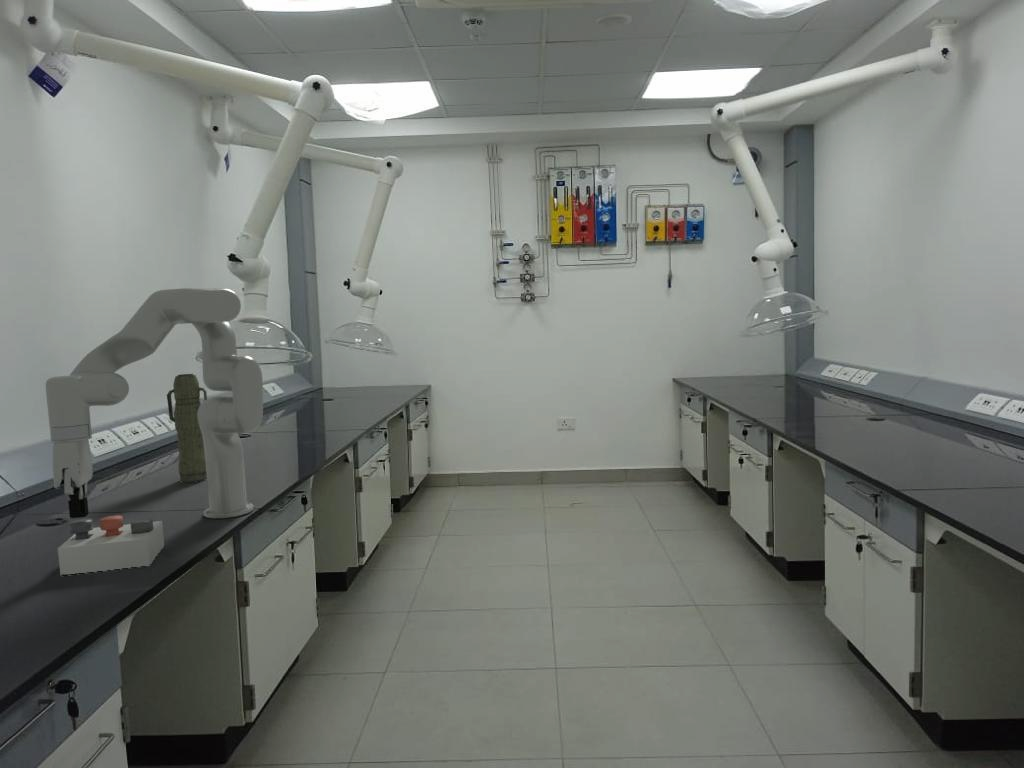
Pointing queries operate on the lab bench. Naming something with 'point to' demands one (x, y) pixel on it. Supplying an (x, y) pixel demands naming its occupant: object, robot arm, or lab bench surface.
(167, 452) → the lab bench surface
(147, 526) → the grey knob
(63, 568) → the control box
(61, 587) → the lab bench surface
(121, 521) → the red knob
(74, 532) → the grey knob
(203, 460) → the thermos
